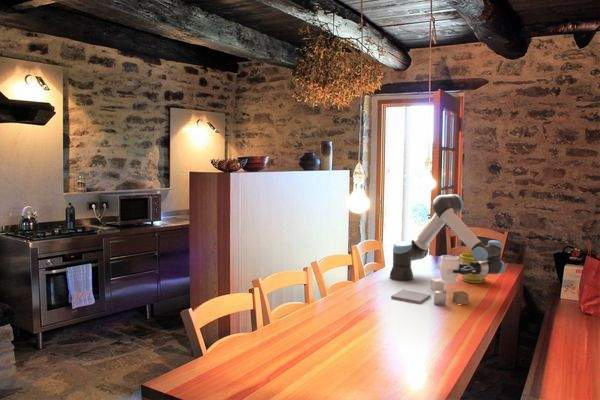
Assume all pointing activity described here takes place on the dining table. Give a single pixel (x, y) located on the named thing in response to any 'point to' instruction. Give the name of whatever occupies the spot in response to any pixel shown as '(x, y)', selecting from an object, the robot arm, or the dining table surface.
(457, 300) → the walnut block
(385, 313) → the dining table surface
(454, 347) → the dining table surface
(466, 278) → the flowerpot
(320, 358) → the dining table surface
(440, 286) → the offwhite block
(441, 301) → the metal tin
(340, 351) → the dining table surface
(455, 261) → the jar
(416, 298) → the slate board
